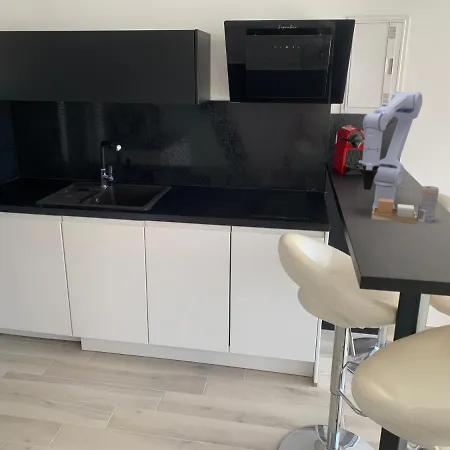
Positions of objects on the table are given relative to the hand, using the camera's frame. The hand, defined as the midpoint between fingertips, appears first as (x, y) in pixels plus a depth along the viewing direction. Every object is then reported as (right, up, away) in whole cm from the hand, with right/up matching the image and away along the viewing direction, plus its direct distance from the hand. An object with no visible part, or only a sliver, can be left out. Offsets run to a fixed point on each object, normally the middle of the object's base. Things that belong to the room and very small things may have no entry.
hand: (367, 187), depth 162 cm
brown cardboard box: (+5, -10, -2) cm, 12 cm away
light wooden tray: (+8, -11, -3) cm, 14 cm away
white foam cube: (+11, -11, -4) cm, 16 cm away
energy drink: (+18, -12, -5) cm, 22 cm away
